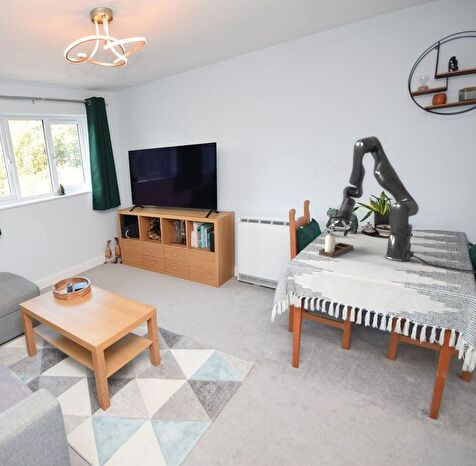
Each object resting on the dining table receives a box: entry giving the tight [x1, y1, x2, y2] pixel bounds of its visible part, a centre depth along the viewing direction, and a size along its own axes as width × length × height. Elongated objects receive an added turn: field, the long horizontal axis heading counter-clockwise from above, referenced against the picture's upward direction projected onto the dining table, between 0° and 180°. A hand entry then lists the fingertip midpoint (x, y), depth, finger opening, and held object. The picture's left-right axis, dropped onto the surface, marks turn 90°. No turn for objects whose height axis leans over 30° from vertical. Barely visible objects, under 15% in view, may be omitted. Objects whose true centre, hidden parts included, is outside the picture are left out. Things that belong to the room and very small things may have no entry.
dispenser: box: [324, 228, 337, 253], centre depth 188 cm, size 5×5×16 cm
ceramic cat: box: [326, 204, 359, 235], centre depth 228 cm, size 20×6×20 cm, turn 37°
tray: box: [318, 242, 354, 258], centre depth 192 cm, size 8×23×3 cm, turn 118°
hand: (336, 234), depth 192 cm, fingers open, 8 cm apart
